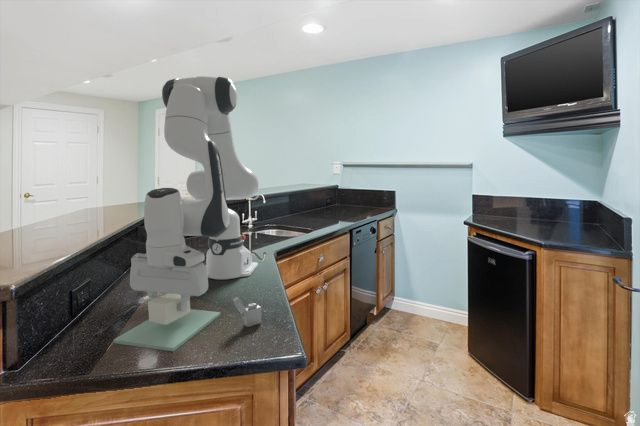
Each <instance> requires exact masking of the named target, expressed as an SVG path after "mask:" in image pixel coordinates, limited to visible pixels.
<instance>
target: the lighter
mask: <svg viewBox="0 0 640 426" xmlns="http://www.w3.org/2000/svg"><path fill="white" fill-rule="evenodd" d="M232 302H233V304H234V305H235V308H236V309H237V310H238V313H240V314H241V315H243V321H244V323H243V324H244V326H245V327H246V328H248V327H253V326H255V325H259V324H262V306H260V305H259V304H257V303H255V302H253V303H248V305H247V307H245V306H244V304H243V302H242V299H240V298H239V297H238V296H236V297H234V298H233V299H232Z"/></svg>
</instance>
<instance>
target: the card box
mask: <svg viewBox="0 0 640 426" xmlns="http://www.w3.org/2000/svg"><path fill="white" fill-rule="evenodd" d="M182 300H183V299H181V295H179V294H168V293H163V294H162V295H161V296H158V297H157V298H155V299H152V300H150V299H149V300H148V301H147V308H148V310H147V311H148V319H149V321H151V322H155V323H160V324H164V325H167V324H169V323H171V322H173V321H175V320H177V319H179V318H181V317H183V316H184V315H186V314H188V313H190V309H191V298H190V299H189V301H188V303H187V310H186V311H184V312H183V311H178V304H180V303H181V302H182Z"/></svg>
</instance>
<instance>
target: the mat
mask: <svg viewBox="0 0 640 426" xmlns="http://www.w3.org/2000/svg"><path fill="white" fill-rule="evenodd" d="M220 316H221V312H220V311H210V310H204V309H203V310H202V309H194V308H192V309H191V308H190V313H188V314H186V315H184V316H183V317H181V318H179V319H177V320H175V321H173V322H171V323H169V324H167V325H164V324H160V323H155V322H151V321H149V318H148V319H147V320H145V321H143V322H141V323H140V324H138V325H136V326H134V327H133V328H131V329H129V330H128V331H126V332H124V333H122V334H120V335H119V336H117V337H115V338H114V339H113V344H118V345H126V346H131V347H132V346H133V347H138V348H139V347H140V348H145V349H146V348H147V349H154V350H160V351H166V352H167V351H168V352H173V353H174V352H175V351H176V350H178V349H179V348H180V347H182V346H183V345H184V344H186V343H187V342H189V340H191V339H192V338H193V337H194V336H196V335H197V334H198V333H200V332H201V331H202V330H204V329H205V328H206V327H207V326H208V325H210V324H212V322H214V321H215V320H216V319H217V318H219V317H220Z"/></svg>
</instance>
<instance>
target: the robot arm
mask: <svg viewBox="0 0 640 426" xmlns="http://www.w3.org/2000/svg"><path fill="white" fill-rule="evenodd" d="M235 86H236V85H235V83H233V81H232V80H231V79H230V78H228V77H224V76H217V77H213V76H203V75H202V76H196V77H184V78H183V77H182V78H173V79H169V80H167V81H165V84H164V85H162V89H161V91H162V92H161V95H162V97H161V98H162V102H163V104H164V106H165V108H166V110H165V116H164V130H163V133H164V140H165V142H166V143H167V146H168V147H169V148H170V149H171V150H172V151H174V152H175V153H177V154H178V155H180V156H182V157H184V158H186V159H189V160H191V161H194V162H197V163H199V164H201V165H202V167H203V169H198V170H194V171H192V172H190V173H189V175H188V176H187V178H186V179H187V180H186V185H185V186H186V190H187V192H188V193H189V195H190V196H191V197H192V198H193V199H185V198H182V197H181V192H180V190H179V189H177V188H173V187H161V188H155V189H152V190H150V191H148V192H147V193H146V194H145V199H144V204H143V205H144V206H143V207H144V209H143V210H144V211H143V218H144V219H143V220H144V230H145V231H146V241H145V250H146V251H145V252H146V253H140V252H139V253H135V254H134V255H133V256H132V257H131V258H130V263H131V264H130V265H131V267H130V271H129V272H130V273H129V286H130V288H131V289H132V290H133V291H140V292H147V297H148V299H149V301H150V300H152V299H155V298H157V297H159V296H158V294H167V293H168V294H179V295H181V299H183V300H182V302H181V303H180V304H178V311H183V312H184V311H186V310H187V303H188V301H189V299H190V300H191V297H200V296H202V295H203V294H205V293H206V292H207V291H208V290H209V279H213V280H230V279H231V280H232V279H236V278H243V277H250V276H251V275H252V273H253V272H254V271H255V270H256V269H257V267H258V266H259V263H258V262H257V261H256V262H255V261H253V256H252V252H251V251H250V250H249V249H248V248H246V246H244V242H243V241H246V235H245V234H241V226H240V225H241V224H240V223H241V222H240V220H241V218H240V216H239V214H238V213H237V212H236V211H235V210H233V209H231V208H229V207H228V202H227V200H245V199H250V198H253V197H254V196H255V195H256V194H257V192H258V189H259V180H258V177H257V175H256V174H255V172H253V171H252V170H250V169H249V168H248V167H247V166H246V165H244V163H243V162H242V161H241V160H240V158H239V157H238V154H237V151H236V149H235V144H234V140H233V139H234V138H233V134H232V133H233V131H232V124H231V121H230V113H231V112H233V110H234V109H235V108H236V106H237V102H238V101H237V100H238V94H237V89H236V87H235ZM187 236H190V237H191V236H192V237H193V236H194V237H197V236H198V237H200V236H202V237H208V238H207V240H208V241H207V245H208V248H209V249H208V250H207V251H206V259H205V253H203V252H202V251H200V250H197V249H194V248H192V247H190V246H188V245H186V238H185V237H187ZM205 260H206V261H205ZM203 261H205V264H204V263H203Z"/></svg>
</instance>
